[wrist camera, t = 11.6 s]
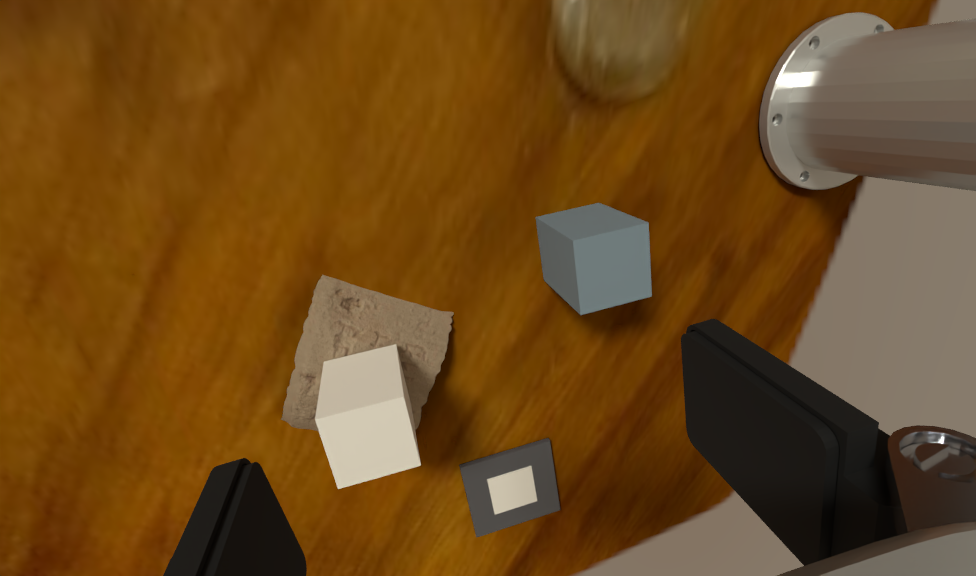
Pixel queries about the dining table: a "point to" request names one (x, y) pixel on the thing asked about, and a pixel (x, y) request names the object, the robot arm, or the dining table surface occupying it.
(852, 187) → the dining table surface
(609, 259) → the slate-blue block
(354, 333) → the clay tablet
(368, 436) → the cream block
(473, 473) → the card
